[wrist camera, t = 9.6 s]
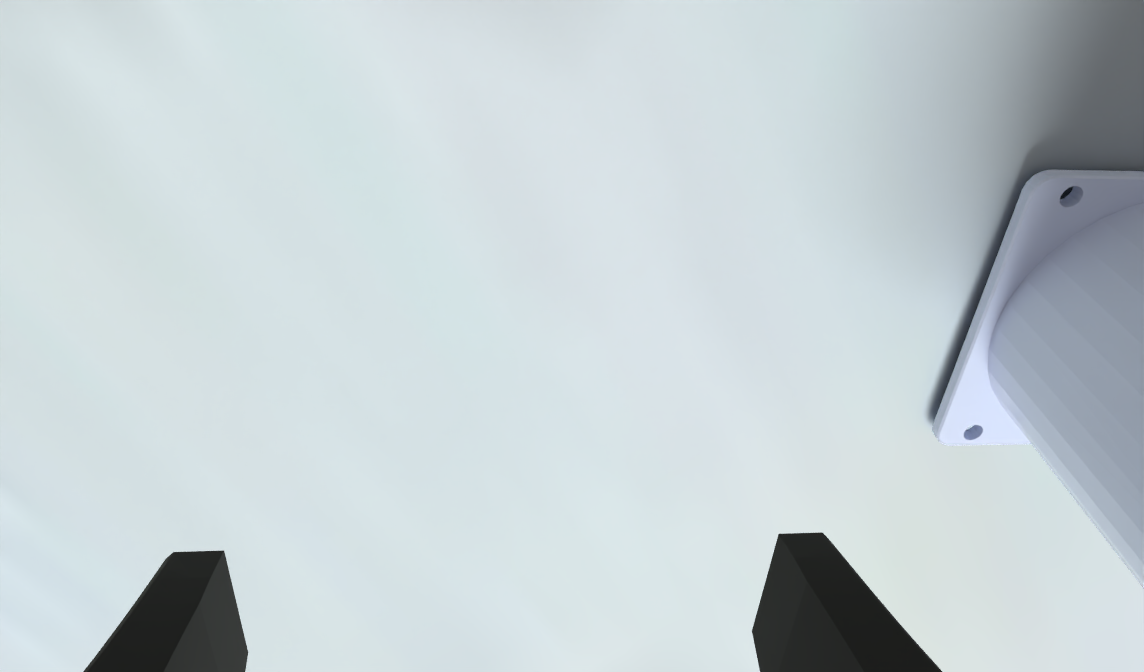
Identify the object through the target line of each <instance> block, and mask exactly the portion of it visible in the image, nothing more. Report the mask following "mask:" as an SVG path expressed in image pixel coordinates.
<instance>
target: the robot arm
mask: <svg viewBox="0 0 1144 672" xmlns="http://www.w3.org/2000/svg"><path fill="white" fill-rule="evenodd" d="M1070 187H1073V190H1072V191H1071V193H1070V194H1069V195H1068V196H1066V197H1065V198H1064V199H1060V196H1061V195H1062V194H1063V192H1064V191H1065V190H1067V189H1068V188H1070ZM971 426H973V427H972V428H970V429H968V430H966V429H967V428H969V427H971ZM932 431H933V433H934V435H935V437H936V438H937V440H938V441H939V442H940V443H942V444H943V445H949V446H954V445H1007V444H1032V446H1033V447H1034V448H1035V449H1036V451H1037V452H1038V453H1039V455H1040V456H1041V457H1042V458H1043V460H1044V461H1045V462H1046V464H1047V465H1048V466H1049V467H1050V469H1051V470H1052V471H1053V472H1054V474H1055V475H1056V476H1057V478H1058V479H1059V480H1060V481H1061V483H1062V484H1063V485H1064V487H1065V488H1066V489H1067V490H1068V492H1069V493H1070V494H1071V496H1072V497H1073V498H1074V499H1075V501H1076V502H1077V503H1078V505H1079V506H1080V507H1081V508H1082V510H1083V511H1084V512H1085V514H1086V515H1087V516H1088V517H1089V519H1090V520H1091V521H1092V523H1093V524H1094V525H1095V526H1096V528H1097V529H1098V530H1099V532H1100V533H1101V534H1102V535H1103V537H1104V538H1105V539H1106V541H1107V542H1108V543H1109V544H1110V546H1111V547H1112V548H1113V550H1114V551H1115V552H1116V553H1117V555H1118V556H1119V557H1120V559H1121V560H1122V561H1123V562H1124V564H1125V565H1126V566H1127V568H1128V569H1129V570H1130V571H1131V573H1132V574H1133V575H1134V577H1135V578H1136V579H1137V580H1138V582H1139V583H1140V584H1141V586H1142V587H1143V588H1144V171H1102V170H1045V171H1041V172H1039V173H1037V174H1035V175H1033V176H1032V177H1031V178H1030V179H1029V180H1028V181H1027V182H1026V184H1025V186H1024V187H1023V189H1022V191H1021V194H1020V196H1019V199H1018V202H1017V204H1016V207H1015V210H1014V212H1013V215H1012V218H1011V220H1010V223H1009V225H1008V228H1007V231H1006V233H1005V236H1004V239H1003V241H1002V244H1001V247H1000V249H999V252H998V254H997V257H996V260H995V262H994V265H993V268H992V270H991V273H990V275H989V278H988V281H987V283H986V286H985V289H984V291H983V294H982V297H981V299H980V302H979V304H978V307H977V310H976V312H975V315H974V318H973V320H972V323H971V326H970V328H969V331H968V333H967V336H966V339H965V341H964V344H963V347H962V349H961V352H960V354H959V357H958V360H957V362H956V365H955V368H954V370H953V373H952V376H951V378H950V381H949V383H948V386H947V389H946V391H945V394H944V397H943V399H942V402H941V405H940V407H939V410H938V412H937V415H936V418H935V420H934V423H933V427H932ZM752 633H753V638H754V643H755V648H756V653H757V658H758V663H759V668H760V672H942V671H941V670H940V669H939V667H938V666H937V665H936V664H935V663H934V662H933V661H932V660H931V659H930V657H929V656H928V655H927V654H926V653H925V652H924V651H923V650H922V649H921V648H920V646H919V645H918V644H917V643H916V642H915V641H914V640H913V639H912V637H911V636H910V635H909V634H908V633H907V632H906V631H905V629H904V628H903V627H902V626H901V625H900V624H899V623H898V621H897V620H896V619H895V618H894V617H893V616H892V614H891V613H890V612H889V611H888V610H887V608H886V607H885V606H884V605H883V604H882V603H881V601H880V600H879V599H878V598H877V597H876V596H875V594H874V593H873V592H872V591H871V590H870V588H869V587H868V586H867V585H866V584H865V582H864V581H863V580H862V579H861V578H860V576H859V575H858V574H857V573H856V572H855V570H854V569H853V568H852V567H851V565H850V564H849V563H848V562H847V561H846V559H845V558H844V557H843V556H842V555H841V553H840V552H839V551H838V550H837V549H836V547H835V546H834V545H833V544H832V543H831V541H830V540H829V539H828V538H827V537H826V536H825V535H824V534H823V533H794V534H779V535H778V539H777V542H776V546H775V550H774V553H773V557H772V561H771V564H770V568H769V571H768V575H767V579H766V582H765V586H764V589H763V593H762V597H761V600H760V604H759V608H758V611H757V615H756V618H755V622H754V626H753V629H752ZM247 656H248V650H247V646H246V642H245V638H244V633H243V629H242V625H241V621H240V616H239V612H238V608H237V604H236V599H235V595H234V591H233V587H232V582H231V578H230V574H229V570H228V566H227V561H226V557H225V553H224V551H198V552H173V553H172V554H171V555H170V556H169V557H167V558H166V559H165V561H164V562H163V564H162V565H161V567H160V568H159V570H158V571H157V572H156V574H155V575H154V577H153V578H152V580H151V581H150V582H149V584H148V585H147V587H146V588H145V589H144V591H143V592H142V594H141V595H140V597H139V598H138V599H137V601H136V602H135V604H134V605H133V606H132V608H131V609H130V611H129V612H128V613H127V615H126V616H125V617H124V619H123V620H122V622H121V623H120V624H119V626H118V627H117V628H116V630H115V631H114V632H113V634H112V635H111V636H110V638H109V639H108V640H107V642H106V643H105V644H104V646H103V647H102V648H101V650H100V651H99V652H98V654H97V655H96V656H95V658H94V659H93V660H92V661H91V663H90V664H89V665H88V667H87V668H86V669H85V670H84V672H245V669H246V662H247Z"/></svg>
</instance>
